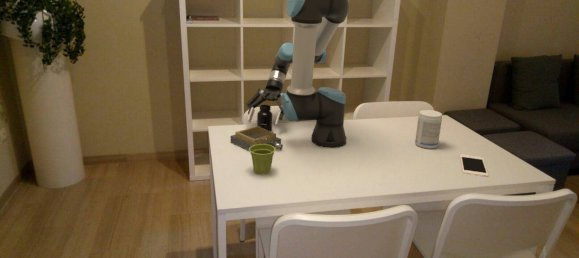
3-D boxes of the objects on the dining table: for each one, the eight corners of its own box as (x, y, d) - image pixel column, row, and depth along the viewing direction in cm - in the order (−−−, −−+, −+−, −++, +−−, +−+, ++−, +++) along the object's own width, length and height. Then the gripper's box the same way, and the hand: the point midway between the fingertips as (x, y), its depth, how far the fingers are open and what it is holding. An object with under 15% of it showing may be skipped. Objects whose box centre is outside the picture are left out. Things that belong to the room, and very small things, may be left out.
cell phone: (482, 159, 178) (482, 157, 177) (488, 177, 161) (488, 175, 161) (459, 156, 180) (459, 154, 179) (462, 174, 164) (463, 171, 163)
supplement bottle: (260, 134, 193) (260, 109, 189) (254, 129, 199) (254, 104, 195) (274, 132, 196) (275, 107, 192) (268, 128, 202) (268, 103, 198)
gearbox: (287, 148, 180) (288, 137, 178) (262, 157, 170) (262, 145, 168) (255, 134, 193) (255, 124, 191) (230, 142, 183) (230, 131, 182)
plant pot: (265, 178, 153) (265, 156, 150) (243, 171, 157) (243, 149, 154) (279, 169, 160) (280, 147, 157) (259, 163, 165) (259, 141, 162)
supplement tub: (442, 146, 188) (447, 114, 183) (427, 151, 183) (432, 117, 178) (424, 139, 195) (429, 108, 190) (409, 143, 190) (414, 111, 185)
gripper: (302, 90, 202) (290, 131, 193) (253, 84, 209) (240, 123, 201) (299, 81, 195) (286, 123, 187) (248, 75, 202) (234, 115, 194)
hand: (262, 123), depth 194 cm, fingers open, 12 cm apart
